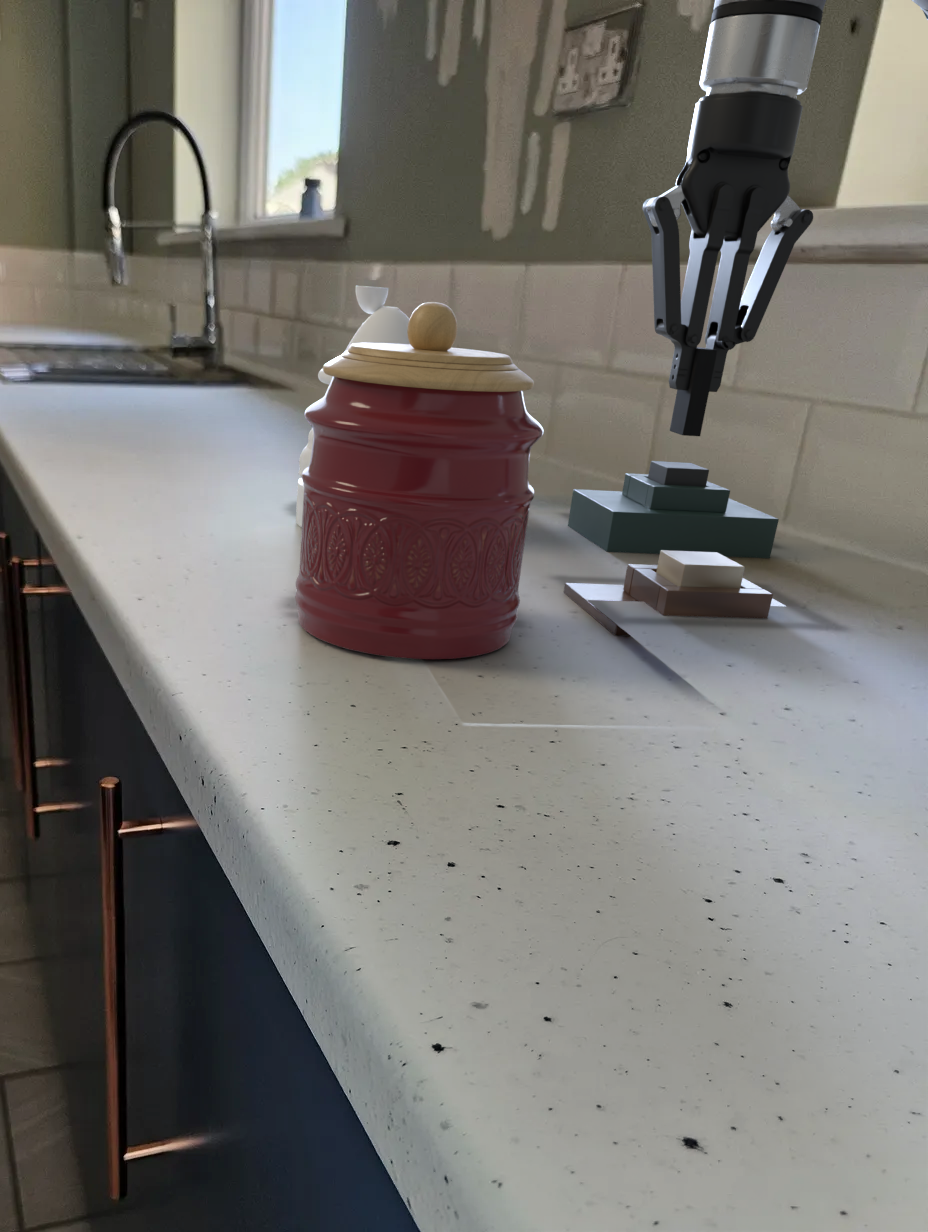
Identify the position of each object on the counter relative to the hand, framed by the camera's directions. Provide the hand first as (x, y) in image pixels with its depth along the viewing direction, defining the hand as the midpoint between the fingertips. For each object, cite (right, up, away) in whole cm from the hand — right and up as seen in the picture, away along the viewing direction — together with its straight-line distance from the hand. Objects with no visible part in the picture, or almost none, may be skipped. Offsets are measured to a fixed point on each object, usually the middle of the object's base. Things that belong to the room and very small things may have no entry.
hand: (684, 433), depth 92 cm
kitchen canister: (-25, -20, -26) cm, 41 cm away
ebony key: (0, -4, +2) cm, 4 cm away
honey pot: (-25, -7, +2) cm, 27 cm away
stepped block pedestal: (-6, -18, -18) cm, 26 cm away
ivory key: (-5, -16, -19) cm, 26 cm away
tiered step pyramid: (-1, -8, +4) cm, 9 cm away
